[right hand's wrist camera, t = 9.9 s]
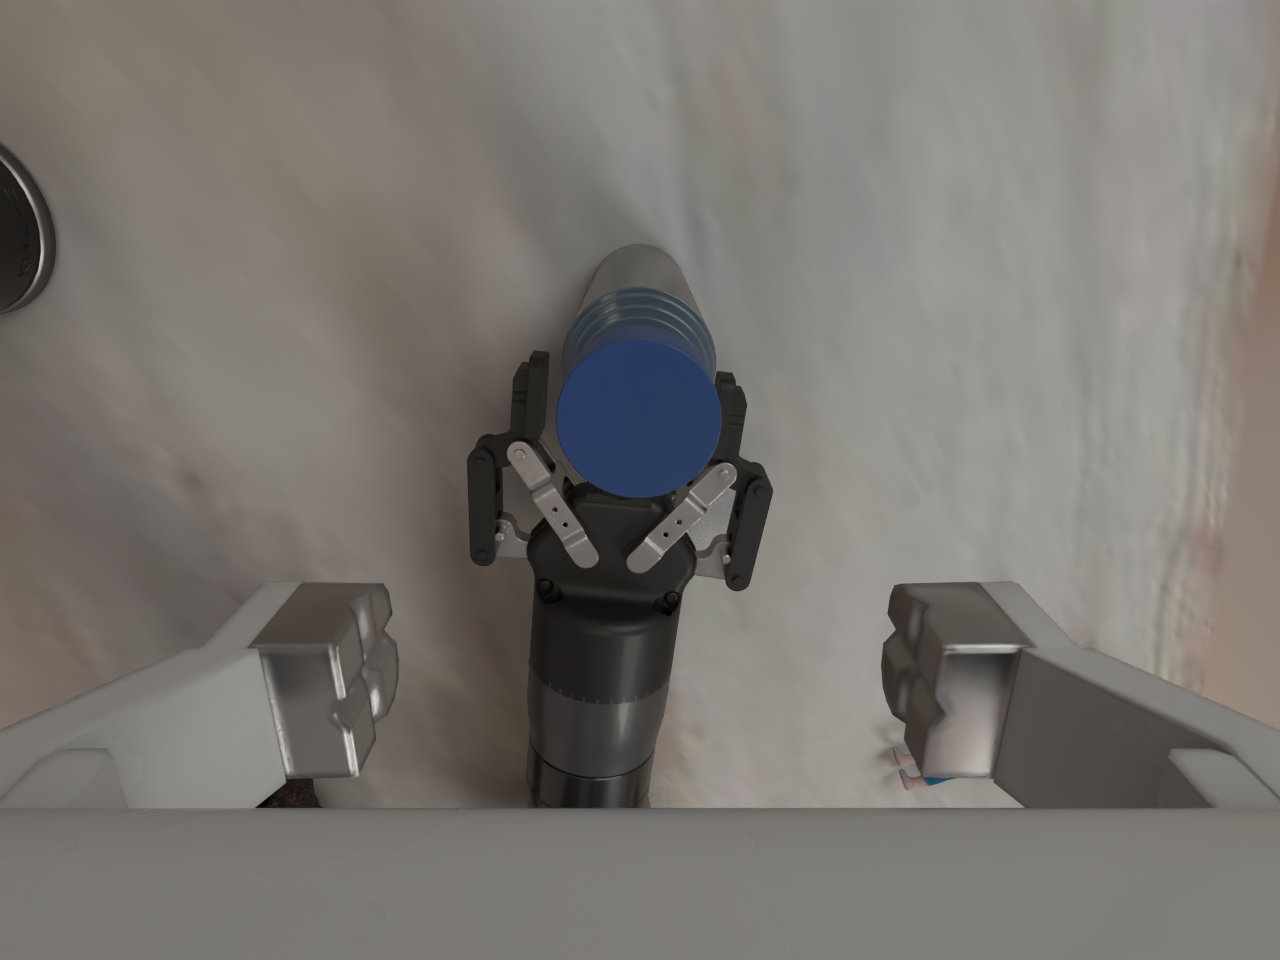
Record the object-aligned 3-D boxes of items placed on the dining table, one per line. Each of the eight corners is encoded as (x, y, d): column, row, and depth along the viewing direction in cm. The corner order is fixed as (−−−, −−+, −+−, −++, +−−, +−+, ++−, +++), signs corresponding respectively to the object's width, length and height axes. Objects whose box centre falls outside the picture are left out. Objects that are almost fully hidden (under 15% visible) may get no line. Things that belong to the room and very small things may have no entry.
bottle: (621, 225, 39) (602, 278, 18) (704, 276, 40) (776, 383, 19) (574, 310, 40) (505, 450, 20) (655, 357, 41) (671, 539, 20)
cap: (611, 295, 20) (608, 307, 18) (743, 374, 20) (754, 393, 19) (536, 425, 21) (526, 449, 19) (663, 495, 22) (666, 525, 20)
